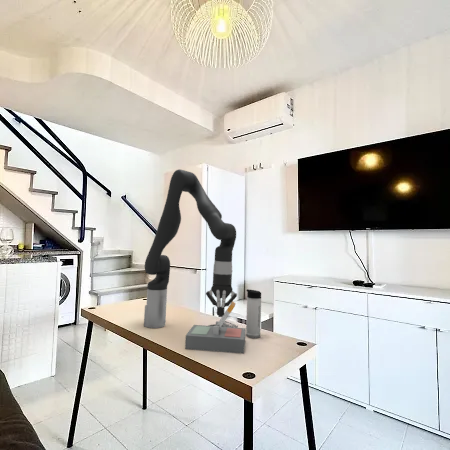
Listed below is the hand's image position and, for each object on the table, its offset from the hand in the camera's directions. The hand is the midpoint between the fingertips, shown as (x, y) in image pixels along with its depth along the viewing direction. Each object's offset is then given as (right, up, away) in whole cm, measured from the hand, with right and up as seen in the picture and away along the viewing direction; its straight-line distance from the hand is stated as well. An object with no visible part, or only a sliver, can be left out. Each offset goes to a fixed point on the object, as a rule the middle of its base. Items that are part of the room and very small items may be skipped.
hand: (220, 316), depth 112 cm
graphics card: (-2, -13, +16) cm, 21 cm away
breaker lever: (-1, -5, 0) cm, 5 cm away
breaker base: (-1, -11, 0) cm, 11 cm away
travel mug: (+14, -13, +11) cm, 22 cm away
